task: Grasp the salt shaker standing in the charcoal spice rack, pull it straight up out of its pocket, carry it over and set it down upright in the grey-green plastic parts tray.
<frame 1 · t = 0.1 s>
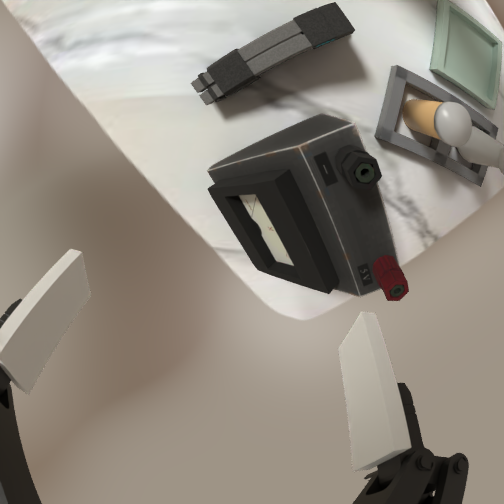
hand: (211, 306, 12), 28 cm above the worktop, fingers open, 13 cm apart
gun: (274, 54, 28), on the worktop
salt shaker: (462, 140, 29), resting in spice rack
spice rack: (441, 128, 29), on the worktop
parts tray: (466, 53, 21), on the worktop
voltmeter: (290, 187, 37), on the worktop
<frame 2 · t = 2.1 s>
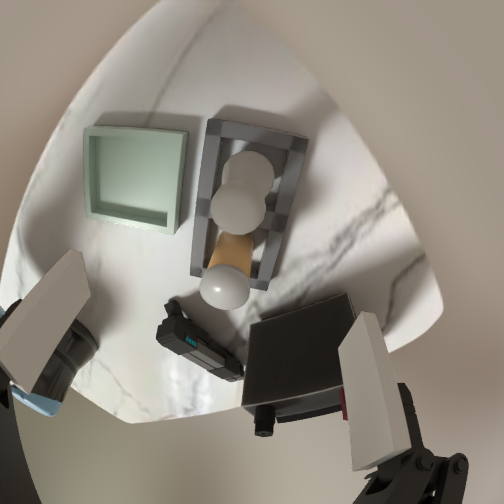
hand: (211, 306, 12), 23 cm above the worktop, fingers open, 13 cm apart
gun: (208, 336, 48), on the worktop
salt shaker: (250, 170, 31), resting in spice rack
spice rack: (242, 208, 34), on the worktop
parts tray: (133, 175, 32), on the worktop
voltmeter: (313, 333, 45), on the worktop
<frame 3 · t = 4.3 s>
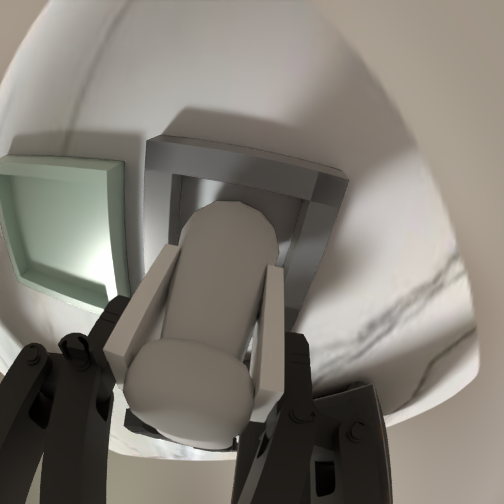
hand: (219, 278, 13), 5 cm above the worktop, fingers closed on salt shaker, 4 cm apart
gun: (191, 411, 35), on the worktop
salt shaker: (234, 229, 18), resting in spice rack, touching gripper
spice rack: (223, 288, 20), on the worktop
parts tray: (60, 229, 19), on the worktop
voltmeter: (322, 413, 32), on the worktop
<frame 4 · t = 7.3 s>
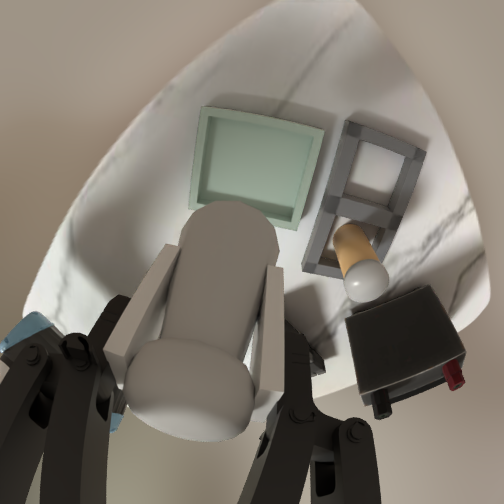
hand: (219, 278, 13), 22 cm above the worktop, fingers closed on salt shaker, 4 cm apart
gun: (294, 333, 48), on the worktop
salt shaker: (234, 228, 18), point 17 cm above the worktop, touching gripper
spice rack: (361, 207, 34), on the worktop
parts tray: (253, 165, 32), on the worktop
voltmeter: (391, 324, 45), on the worktop
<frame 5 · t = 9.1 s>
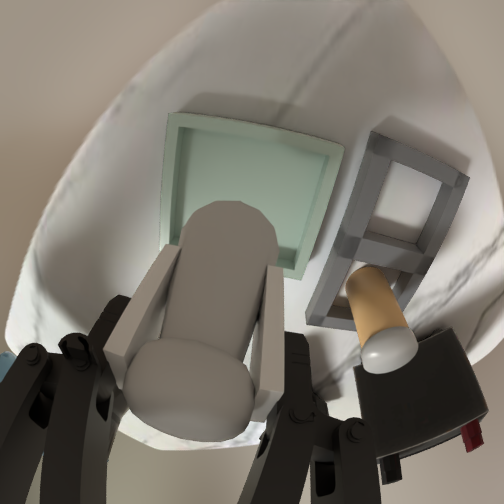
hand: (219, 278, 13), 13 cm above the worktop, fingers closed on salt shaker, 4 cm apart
salt shaker: (234, 228, 18), point 7 cm above the worktop, touching gripper
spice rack: (384, 246, 26), on the worktop
parts tray: (243, 193, 24), on the worktop
voltmeter: (404, 366, 37), on the worktop
when the fingers open (7 cm above the worktop, at t = 10.5 s): salt shaker stays where it is, resting on parts tray.
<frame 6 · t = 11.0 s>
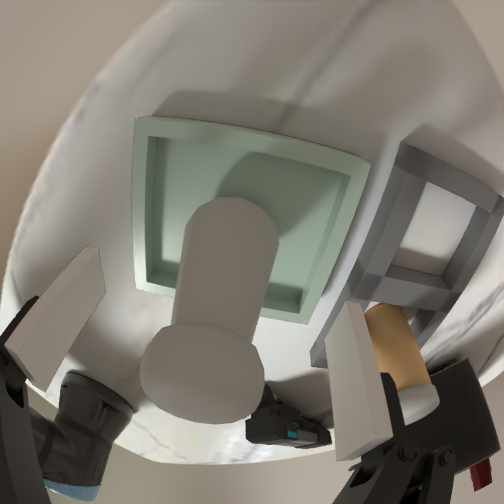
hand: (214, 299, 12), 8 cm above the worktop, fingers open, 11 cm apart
gun: (295, 410, 35), on the worktop
salt shaker: (235, 223, 19), resting on parts tray
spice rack: (406, 281, 21), on the worktop
parts tray: (236, 220, 19), on the worktop
voltmeter: (413, 394, 32), on the worktop
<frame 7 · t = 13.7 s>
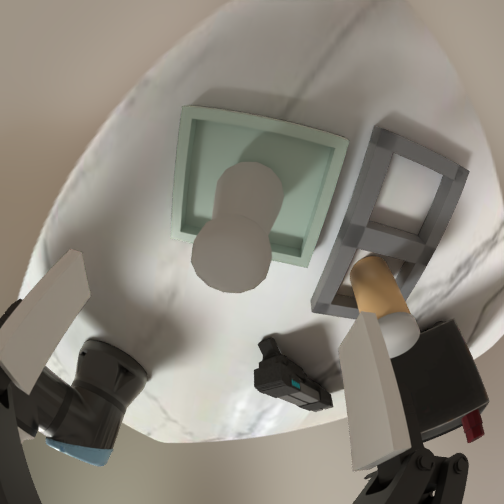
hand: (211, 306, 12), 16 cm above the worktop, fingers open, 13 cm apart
gun: (298, 370, 41), on the worktop
salt shaker: (252, 185, 25), resting on parts tray
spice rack: (387, 236, 26), on the worktop
parts tray: (253, 183, 25), on the worktop
voltmeter: (407, 357, 38), on the worktop
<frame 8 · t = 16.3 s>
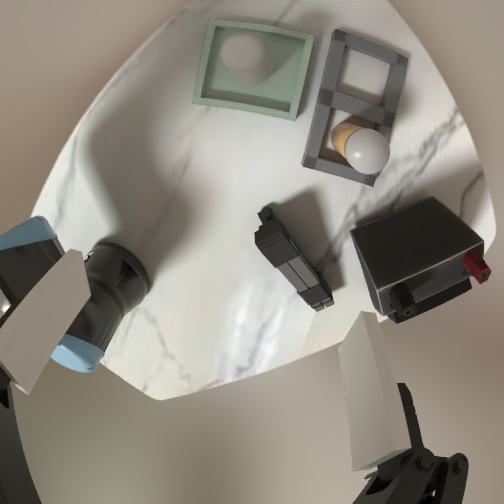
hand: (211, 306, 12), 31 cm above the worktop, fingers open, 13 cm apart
gun: (296, 255, 46), on the worktop
salt shaker: (252, 67, 30), resting on parts tray
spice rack: (354, 107, 32), on the worktop
parts tray: (253, 67, 31), on the worktop
voltmeter: (399, 247, 44), on the worktop
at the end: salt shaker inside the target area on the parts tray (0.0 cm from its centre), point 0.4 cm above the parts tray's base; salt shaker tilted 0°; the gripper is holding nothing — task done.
